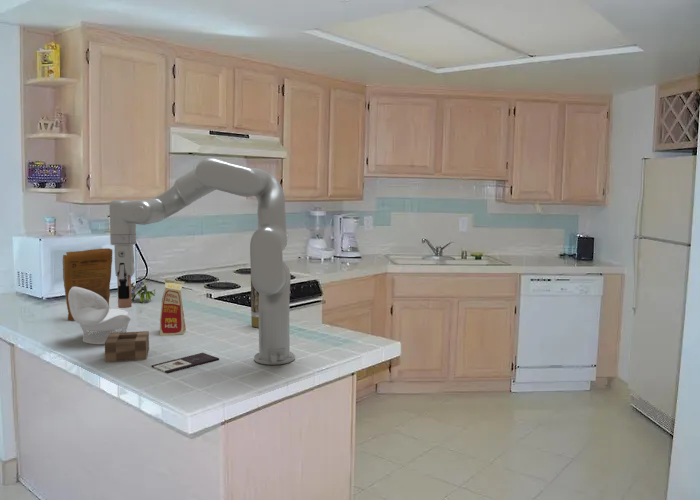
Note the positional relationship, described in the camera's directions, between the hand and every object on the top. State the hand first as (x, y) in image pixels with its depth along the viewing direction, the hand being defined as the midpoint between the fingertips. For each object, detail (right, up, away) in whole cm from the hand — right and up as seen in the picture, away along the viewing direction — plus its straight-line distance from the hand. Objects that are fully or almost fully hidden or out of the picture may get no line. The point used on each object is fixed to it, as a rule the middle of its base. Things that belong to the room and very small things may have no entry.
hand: (124, 296), depth 192 cm
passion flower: (-24, -9, +86) cm, 90 cm away
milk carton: (+6, -16, +31) cm, 36 cm away
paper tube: (+37, -15, +41) cm, 57 cm away
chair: (-16, -17, +20) cm, 30 cm away
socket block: (0, -19, +2) cm, 19 cm away
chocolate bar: (+21, -21, -6) cm, 30 cm away
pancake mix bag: (-33, -13, +51) cm, 62 cm away
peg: (0, -3, 0) cm, 3 cm away
